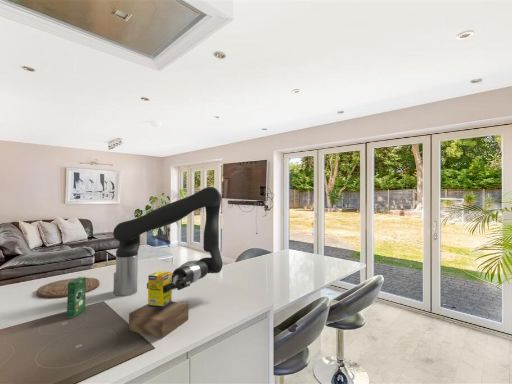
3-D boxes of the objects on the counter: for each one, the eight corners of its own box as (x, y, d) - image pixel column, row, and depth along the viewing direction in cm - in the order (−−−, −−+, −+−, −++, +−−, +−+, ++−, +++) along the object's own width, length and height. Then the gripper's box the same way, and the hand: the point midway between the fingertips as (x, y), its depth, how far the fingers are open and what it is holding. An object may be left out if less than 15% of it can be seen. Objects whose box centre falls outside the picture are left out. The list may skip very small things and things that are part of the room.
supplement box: (163, 308, 92) (163, 276, 92) (147, 307, 93) (147, 275, 93) (172, 301, 98) (172, 271, 98) (157, 300, 99) (157, 270, 99)
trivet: (97, 293, 126) (97, 289, 126) (28, 302, 115) (29, 298, 115) (101, 278, 148) (101, 275, 148) (44, 285, 137) (44, 281, 137)
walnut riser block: (128, 331, 92) (129, 313, 92) (157, 314, 105) (158, 298, 105) (162, 339, 86) (162, 320, 87) (188, 320, 100) (188, 304, 100)
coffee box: (78, 309, 108) (78, 276, 108) (85, 308, 108) (86, 275, 108) (66, 318, 100) (66, 282, 100) (74, 318, 100) (75, 282, 100)
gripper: (173, 263, 112) (140, 274, 97) (201, 267, 106) (171, 279, 91) (173, 281, 112) (140, 295, 97) (201, 287, 106) (171, 302, 91)
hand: (155, 287), depth 94 cm, fingers closed on supplement box, 7 cm apart
